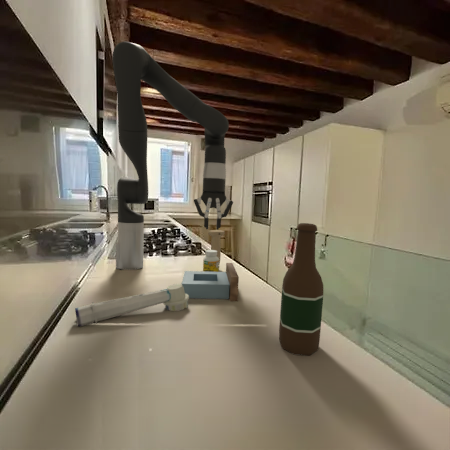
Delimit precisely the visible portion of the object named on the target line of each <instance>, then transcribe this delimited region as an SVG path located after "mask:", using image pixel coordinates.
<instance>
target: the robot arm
mask: <svg viewBox="0 0 450 450" xmlns="http://www.w3.org/2000/svg"><path fill="white" fill-rule="evenodd" d="M111 58H112V69H113V75H114V80H115V81H114V82H115V87H116V97H117V98H116V102H117V103H116V105H117V108H116V109H117V130H118V131H117V132H118V142H119V145H120V147H121V149H122V150H123V152H124V154H125V155H126V156H127V158H128V159H129V160H130V161H131V163H132V165H133V167H134V169H135V171H136V174H137V177H138V178H130V177H128V178H127V177H121V178H119V179H118V180H117V184H116V185H117V186H116V194H117V242H115V269H118V270H123V271H124V270H128V271H129V270H130V271H131V270H139V269H142V268H143V267H144V238H145V237H144V232H145V231H144V228H145V227H144V226H145V222H144V221H145V216H144V215H143V213H141V212H137V211H135V210H133V209H131V208H130V207H129V205H130V204H131V205H134V204H135V205H142V204H143V205H144V204H146V203H147V202H148V200H149V178H148V177H149V176H148V161H147V159H148V121H147V117H146V113H145V110H144V107H143V106H144V105H143V103H142V95H141V86H142V85H141V83H142V82H141V81H143V82H144V83H146V84H147V85H149V86H151V87H152V88H154V89H155V90H156V91H157V92H158V93H159V94H160V95H162V97H163V98H164V99H165V100H166V101H167V102H168V103H169V104H170V106H172V107H173V108H174V109H175V110H176V111H177V112H178V113H180V114H181V115H183V116H184V117H185V118H187V119H188V120H189V121H191V122H193V123H198V125H200V126H202V127H203V128H204V145H205V148H204V164H203V165H204V166H203V172H202V193H201V195H200V197H198V198H194V199H193V203H194V206H195V207H196V210H197V212H198V215H199V216H201V217H202V218H203V219H204V222H203V226H204V227H203V228H205V229H206V230H209V214H210V209H212V208H213V209H216V214H217V215H216V216H217V217H216V228H215V230H220V228H222V227H221V226H222V219H223V218H227V216H228V214H229V212H230V210H231V208H232V206H233V204H234V201H233V200H231V199H228V198H227V196H226V181H227V179H226V178H227V169H226V162H227V161H226V159H227V150H226V148H225V137H226V133H228V130H229V128H230V127H229V126H230V123H229V120H228V118H227V117H226V116H225V115H224V114H223V113H222V112H220V111H219V110H218V109H216V108H214V107H213V106H211V105H209V104H207V103H205V102H203V101H202V99H200V98H199V97H198V96H197V95H195V94H194V93H193V92H192V91H190V90H189V89H187V87H185V86H184V85H182V84H181V83H180V82H178V80H176V79H175V78H173V77H172V76H171V75H170V74H169V73H168V72H166V70H164V68H162V67H161V65H160V64H158V62H157V61H156V60H155V59H154V57H152V56H151V55H150V53H148V51H147V50H145V48H144V47H143V46H141V45H140V44H137V43H135V42H134V43H133V42H130V41H121V42H119V43H117V44H116V45H115V47H114V49H113V51H112V57H111ZM201 201H202V202H203V204H204V205H205V210H204V211H205V212H203V211H202V208H201V206H200V205H201V203H202V202H201ZM224 203H225V206H226V207H225V209H224V211H223V213H222V212H221V211H222V209H221V207H222V206H223V204H224ZM128 204H129V205H128Z"/></svg>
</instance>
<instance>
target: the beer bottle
mask: <svg viewBox="0 0 450 450" xmlns="http://www.w3.org/2000/svg"><path fill="white" fill-rule="evenodd" d="M296 230H297V234H296V235H297V236H296V242H295V243H296V244H295V251H294V258H293V261H292V265H291V266H290V267H289V268H288V269H287V271H286V272H285V274H284V277H283V280H282V284H281V285H282V286H281V296H280V297H281V299H280V312H279V313H280V314H279V316H280V317H279V328H278V332H279V333H278V340H279V343H280V346H281V349H283V350H285V351H287V352H289V353H290V352H291V354H292V353H293V354H292V355H294V354H300V355H299V356H311V355H313V354H314V353H316V352H317V351H318V350H319V349H320V348H319V347H320V341H321V327H322V316H323V305H324V304H323V303H324V283H323V279H322V276H321V274H320V272H319V271H318V269H317V266H316V232H317V231H318V226H317V225H316V224H314V223H307V222H306V223H304V222H301V223H297V226H296ZM312 353H313V354H312ZM301 354H302V355H301Z"/></svg>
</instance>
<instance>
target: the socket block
mask: <svg viewBox="0 0 450 450" xmlns="http://www.w3.org/2000/svg"><path fill="white" fill-rule="evenodd" d="M181 285H182V286H183V287H184V291H185V294H188V295H189V299H205V300H206V299H214V300H215V299H216V300H230V299H229V287H230V284H229V281H228V278H227V274H226V271H219V272H209V271H203V270H202V271H200V270H197V271H196V270H184V273H183V276H182V281H181Z"/></svg>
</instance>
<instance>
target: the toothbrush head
mask: <svg viewBox="0 0 450 450" xmlns="http://www.w3.org/2000/svg"><path fill="white" fill-rule="evenodd" d="M189 299H190V298H189V295H188V294H185V291H184V287H183V286H182V283H181V284H179V283H176V284H175V283H174V284H171V285H168V287H166V288H165V289H164V288H163V289H159V290H155V291H150V292H145V293H140V294H135V295H130V296H125V297H120V298H115V299H109V300H104V301H98V302H95V303H94V301H92V302H91V304H86V305H83V306H78V307H74V313H75V318H76V319H75V320H76V324H77V327H78V328H79V327H82V326H87V325H92V324H94V323H95V325H96V324H98V322H101V321H105V320H109V319H112V318H115V317H119V316H122V315H126V314H130V313H133V312H136V311H139V310H143V309H147V308H151V307H153V306H157V305H160V304H163V305H164V306H165V309H166V310H167V311H171V312H173V311H174V312H178V311H180V312H181V311H183V310H184V309H188V307H189Z"/></svg>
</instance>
